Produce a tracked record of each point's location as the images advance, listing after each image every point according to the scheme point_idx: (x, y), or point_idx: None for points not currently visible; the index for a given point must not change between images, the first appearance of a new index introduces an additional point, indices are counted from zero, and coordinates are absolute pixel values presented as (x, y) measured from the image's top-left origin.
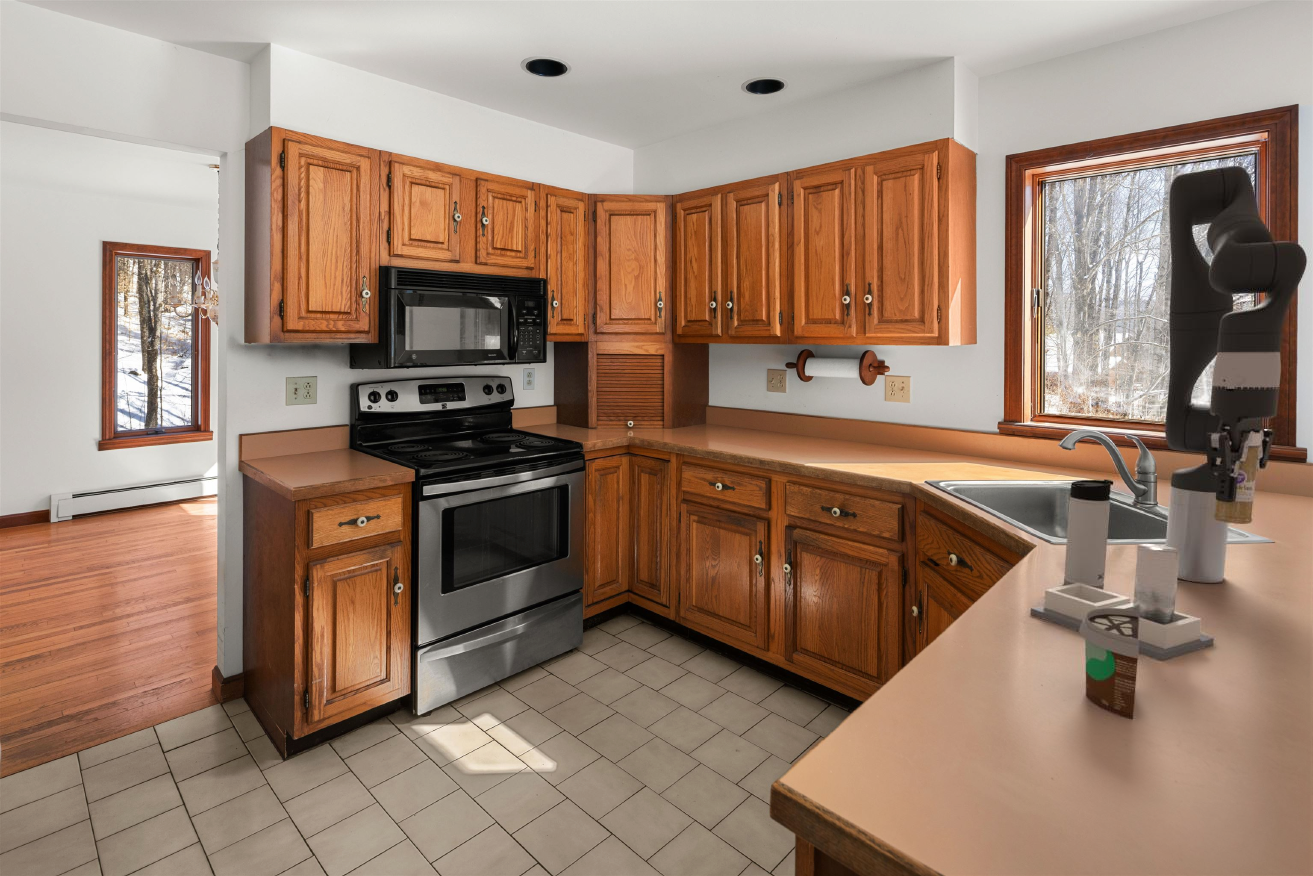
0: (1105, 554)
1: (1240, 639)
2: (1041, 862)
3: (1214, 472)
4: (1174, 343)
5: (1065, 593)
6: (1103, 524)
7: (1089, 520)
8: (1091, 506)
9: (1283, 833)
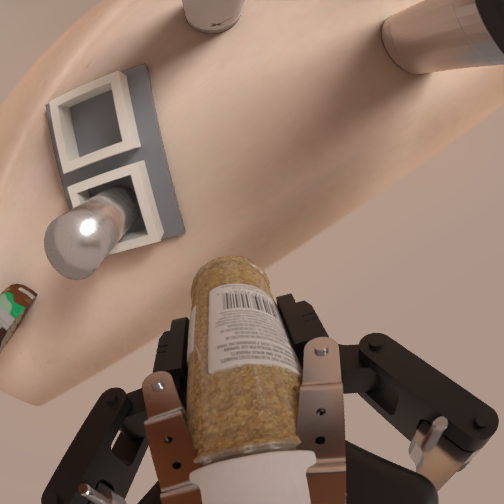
0: (230, 6)
1: (236, 224)
2: None
3: (143, 381)
4: None
5: (82, 96)
6: None
7: None
8: None
9: (41, 399)
